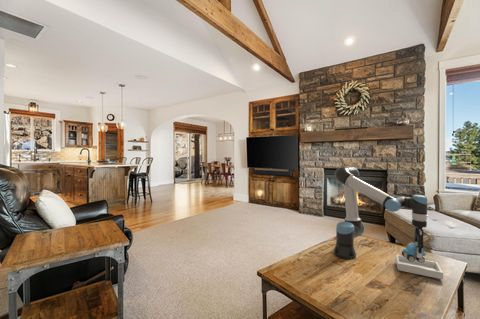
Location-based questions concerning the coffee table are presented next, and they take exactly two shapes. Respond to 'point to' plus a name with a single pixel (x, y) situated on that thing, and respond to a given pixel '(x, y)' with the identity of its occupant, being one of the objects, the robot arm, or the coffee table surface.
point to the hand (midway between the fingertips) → (418, 254)
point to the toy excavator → (411, 250)
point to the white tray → (419, 267)
